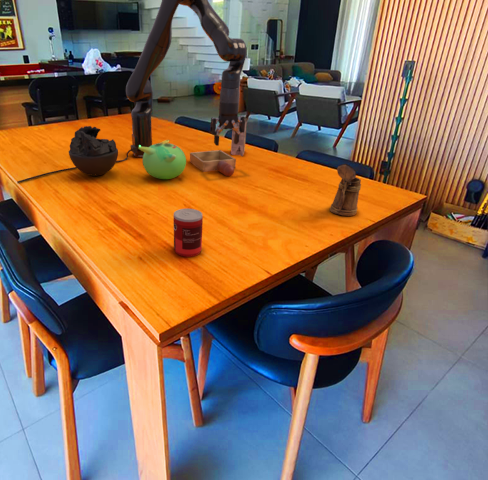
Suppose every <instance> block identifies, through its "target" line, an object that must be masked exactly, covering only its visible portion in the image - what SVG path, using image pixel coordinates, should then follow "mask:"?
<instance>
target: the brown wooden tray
mask: <svg viewBox="0 0 488 480" xmlns="http://www.w3.org/2000/svg"><path fill="white" fill-rule="evenodd" d="M220 161H225V162H227V163H228V164H230V165H231V166H233V168H234V170H235V169H236V164H237V158H234V157H233V156H231V154H229V153H226V152H225V151H223V150H221V149H217V150H205V151H195V152H189V163H191V164H192V165H193V166H195V167H196V168H197V169H198V170H200V171H201V172H202V173H204V172H216V171H219V170H218V169H217V164H218V163H219V162H220Z"/></svg>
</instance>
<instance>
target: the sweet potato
mask: <svg viewBox="0 0 488 480" xmlns="http://www.w3.org/2000/svg"><path fill="white" fill-rule="evenodd" d="M217 169H218V170H217V171H218V172H220V173H221V174H223V175H224V176H226V177H231V176H233V175H234V173H235V169H234V168H233V166H231V165H230V164H228V163H227V162H225V161H220V162H219V163H218V164H217Z"/></svg>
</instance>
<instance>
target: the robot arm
mask: <svg viewBox="0 0 488 480" xmlns="http://www.w3.org/2000/svg"><path fill="white" fill-rule="evenodd" d="M179 5H181V6H185V7H188V8H189V9H190V10H192V12H194V13H195V15H196V16H197V17H198V19H199V23H200V26H201V28H202V30H203V32H204V33H205V34H206V36H207V37H208V38H209V39H210V41H211V42H212V43H213V47H214V49H215V50H216V52H217V55H218V56H219V58H220V59H221V60H223V61H224V62H227V63H228V67H227V68H225V69H224V70H222V72H221V82H220V91H219V104H218V105H219V107H218V117H211V118H210V126H209V127H210V128H209V133H210V134H211V135H213V143H214V145H215V146H217V147H219V145H220V134H221V133H222V132H223V131H224V130H228V129H229V130H232V129H233V130H234V132H235V135H234V144H238V142H239V135H240V133H243V132H244V127H245V118H246V117H245V116H243V115H240V116H238V114H239V107H240V95H241V93H240V86H241V75H242V71H243V68H244V65H245V62H246V57H247V52H248V51H247V44H246V42H245V40H244V39H243V38H239V37H238V38H236V37H235V38H232V37H230V28H229V26H228V25H227V23H226V22H225V21H224V20H223V19H222V18H221V16H220V15H219V14H218V13H217V11H216V10H215V9H214V8H213V6H212V5H211V3H210V2H209V0H161V1H160V5H159V9H158V11H157V14H156V16H155V18H154V19H155V20H154V22H153V24H152V27H151V28H150V29H151V30H150V32H149V34H148V36H147V39H146V40H145V44H144V47H143V49H142V52H141V53H140V56H139V59H138V61H137V64H136V66H135V68H134V70H133V72H132V74H131V75H130V77H129V79H128V81H127V83H126V86H125V95H126V98H127V99H128V100H129V101H130V102H133V103H135V106H134V108H133V109H132V110H131V112H130V114H131V115H130V116H131V126H132V128H131V131H132V134H131V143H132V144H130V148H129V150H127V152H126V157H125V158H124V159H120V160H118V159H117V161H116V163H123V162H124V161H127V160H128V158H129V153H132V155H133V156H134V157H135V158H142V159H143V155H144V152H143V151H141V150H140V149H139V148H138V147H150V146H151V145H153V129H152V127H153V126H152V113H153V108H154V107H153V99H154V98H153V94H154V93H153V87H152V84H151V81H150V80H149V78H150V76H151V75H152V74H153V73H154V71H155V70H156V69H157V68H158V67H159V66H160V64H162V62H163V61H164V59H165V57H166V56H167V54H168V52H169V50H170V47H171V44H172V39H173V19H174V16H175V14H176V11H177V9H178V7H179ZM237 121H239V129H238V127H237V125H236V123H237ZM217 124H218V125H217ZM76 169H77V168H76V166H74V167H69V168H63V169H57V170H53V171H50V172H45V173H41V174H37V175H34V176H31V177H28V178H24V179H21V180H18V181H16V183H17V184H20V183H23V182H26V181H30V180H33V179H37V178H41V177H44V176H49V175H52V174H56V173H61V172H66V171H70V170H76ZM77 170H78V169H77Z"/></svg>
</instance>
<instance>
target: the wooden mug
mask: <svg viewBox="0 0 488 480" xmlns="http://www.w3.org/2000/svg"><path fill="white" fill-rule="evenodd" d="M336 172H337V175H338V176H339V177H340V178H341V180H340V181H339V183H338V187H337V190H336V193H335V195H334V199H333V201H332V203H331V204H330V208H329V211H330V212H331V213H332V214H335V215H338V216H343V217H353V216H356V215H357V212H358V202H359V195H360V191H361V187H362V184H361V181H362V179H361V178H359V177H356V176H357V172H356V170H355V168H353V166H351V165H349V164H347V163H342V164H339V165H338V166H337V168H336Z"/></svg>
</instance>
